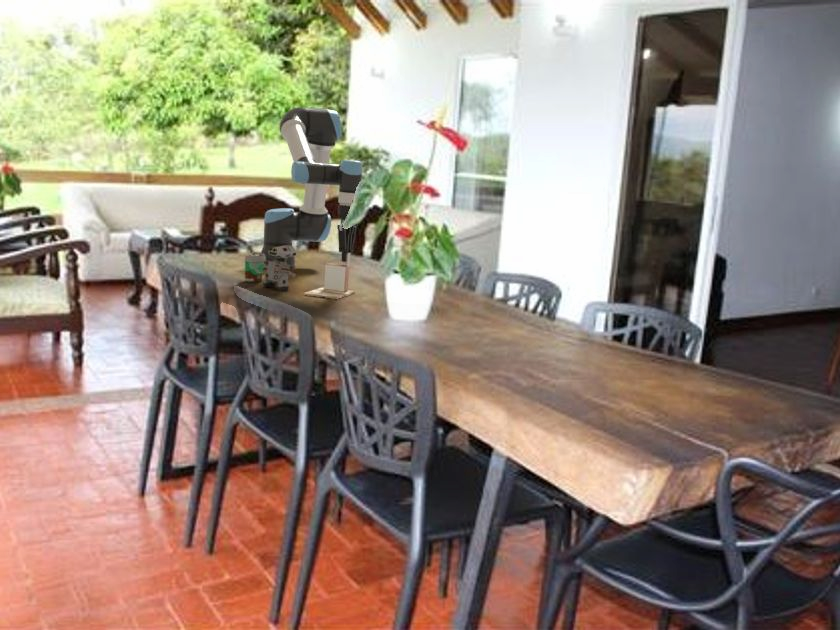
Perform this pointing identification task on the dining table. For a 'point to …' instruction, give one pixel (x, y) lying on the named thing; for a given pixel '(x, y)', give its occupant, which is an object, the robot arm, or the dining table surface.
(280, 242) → the robot arm
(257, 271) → the food container
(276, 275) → the figurine
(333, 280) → the tile
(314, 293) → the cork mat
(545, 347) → the dining table surface
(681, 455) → the dining table surface
